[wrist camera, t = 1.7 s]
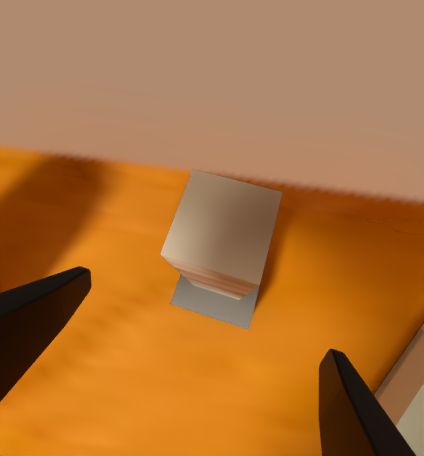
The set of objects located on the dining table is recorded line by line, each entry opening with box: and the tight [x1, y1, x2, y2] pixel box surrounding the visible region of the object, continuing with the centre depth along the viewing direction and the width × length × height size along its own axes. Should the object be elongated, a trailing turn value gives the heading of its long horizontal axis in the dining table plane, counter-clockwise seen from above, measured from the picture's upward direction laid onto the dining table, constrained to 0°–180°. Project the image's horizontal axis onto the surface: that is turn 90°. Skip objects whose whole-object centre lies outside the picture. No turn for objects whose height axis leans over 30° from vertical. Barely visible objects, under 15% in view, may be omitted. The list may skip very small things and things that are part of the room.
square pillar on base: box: [160, 169, 283, 330], centre depth 14 cm, size 6×5×12 cm
